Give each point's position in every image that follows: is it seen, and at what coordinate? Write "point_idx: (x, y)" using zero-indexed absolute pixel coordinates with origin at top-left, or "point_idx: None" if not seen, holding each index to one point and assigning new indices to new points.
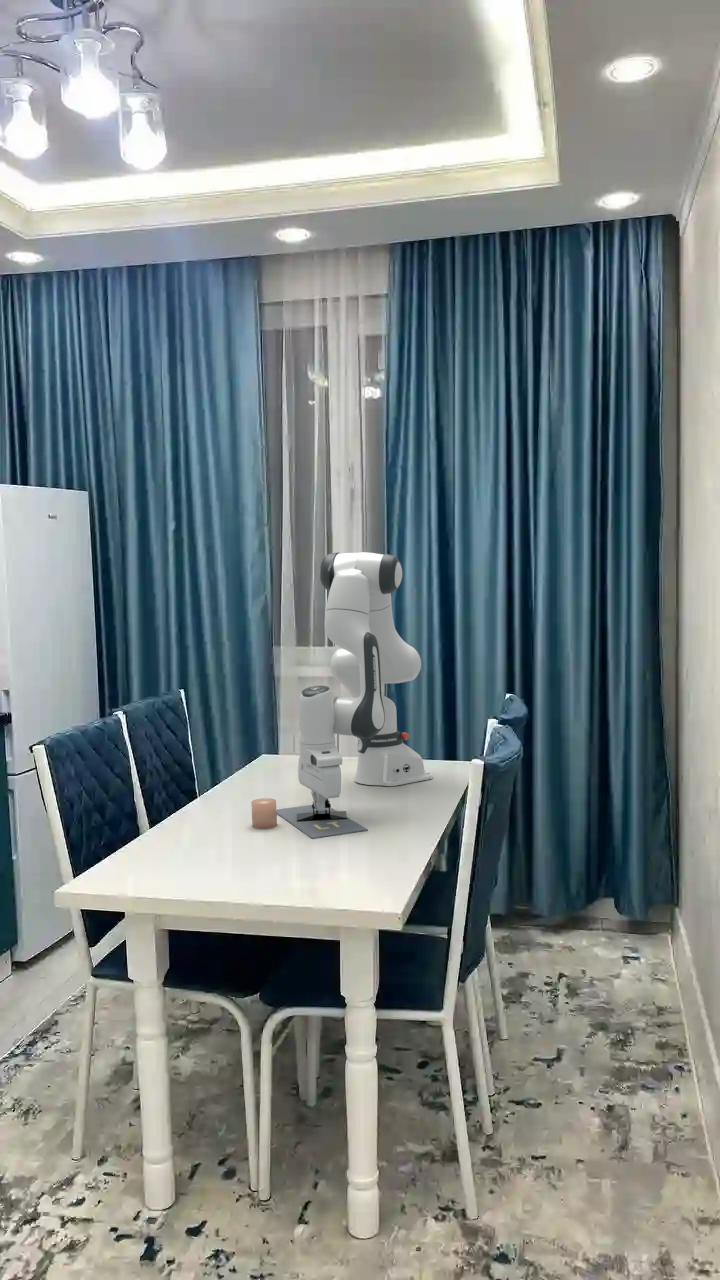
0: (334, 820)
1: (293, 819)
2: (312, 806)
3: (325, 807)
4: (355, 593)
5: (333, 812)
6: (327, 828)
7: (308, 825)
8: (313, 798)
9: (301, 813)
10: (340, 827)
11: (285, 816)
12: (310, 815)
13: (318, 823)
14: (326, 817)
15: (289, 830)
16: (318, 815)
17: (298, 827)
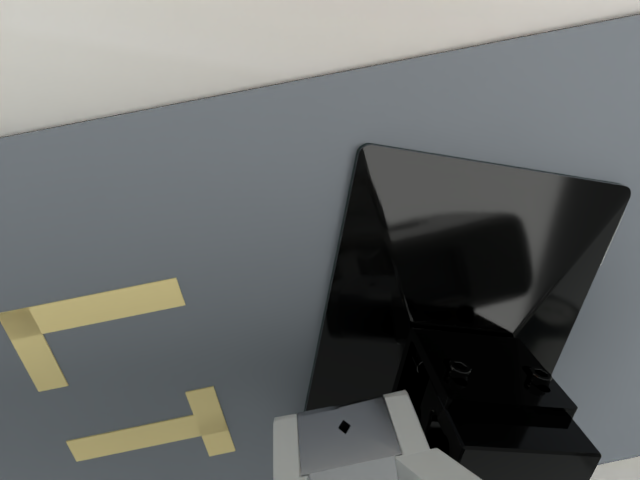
0: None
1: (460, 122)
2: (458, 375)
3: None
4: None
5: None
6: (28, 374)
7: (175, 234)
8: (440, 477)
9: (582, 228)
10: (47, 461)
11: (620, 54)
12: (423, 298)
13: (224, 325)
14: None
15: (67, 7)
16: (386, 361)
17: (115, 124)
